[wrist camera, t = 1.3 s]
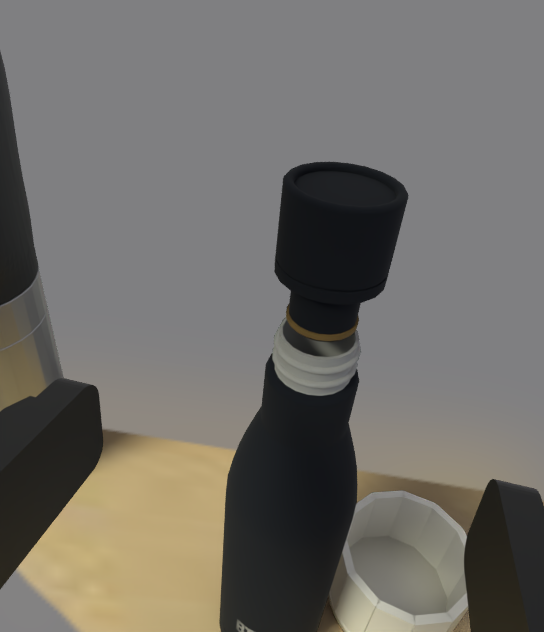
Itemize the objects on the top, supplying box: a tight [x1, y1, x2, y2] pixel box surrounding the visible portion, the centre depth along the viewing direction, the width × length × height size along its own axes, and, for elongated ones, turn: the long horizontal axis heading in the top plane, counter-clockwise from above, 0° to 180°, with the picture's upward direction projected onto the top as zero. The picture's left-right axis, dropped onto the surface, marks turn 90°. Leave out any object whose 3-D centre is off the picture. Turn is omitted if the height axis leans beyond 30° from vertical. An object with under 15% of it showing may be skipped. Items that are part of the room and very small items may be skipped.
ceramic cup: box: [328, 490, 468, 632], centre depth 33 cm, size 8×8×6 cm
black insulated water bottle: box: [220, 162, 408, 632], centre depth 24 cm, size 6×6×30 cm
